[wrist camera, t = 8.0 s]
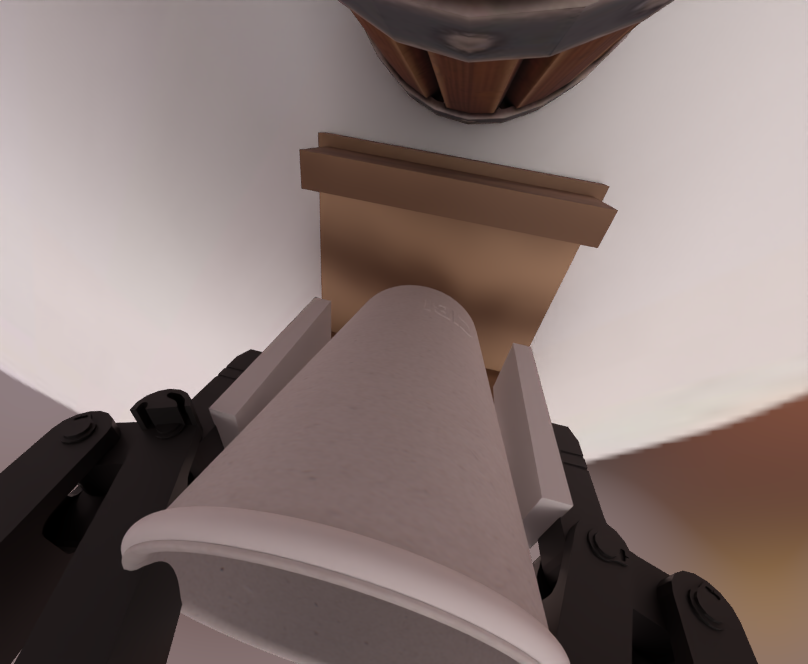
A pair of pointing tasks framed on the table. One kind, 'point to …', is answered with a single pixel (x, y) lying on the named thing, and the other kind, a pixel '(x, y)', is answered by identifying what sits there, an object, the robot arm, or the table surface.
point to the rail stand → (448, 233)
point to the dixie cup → (364, 508)
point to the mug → (495, 49)
